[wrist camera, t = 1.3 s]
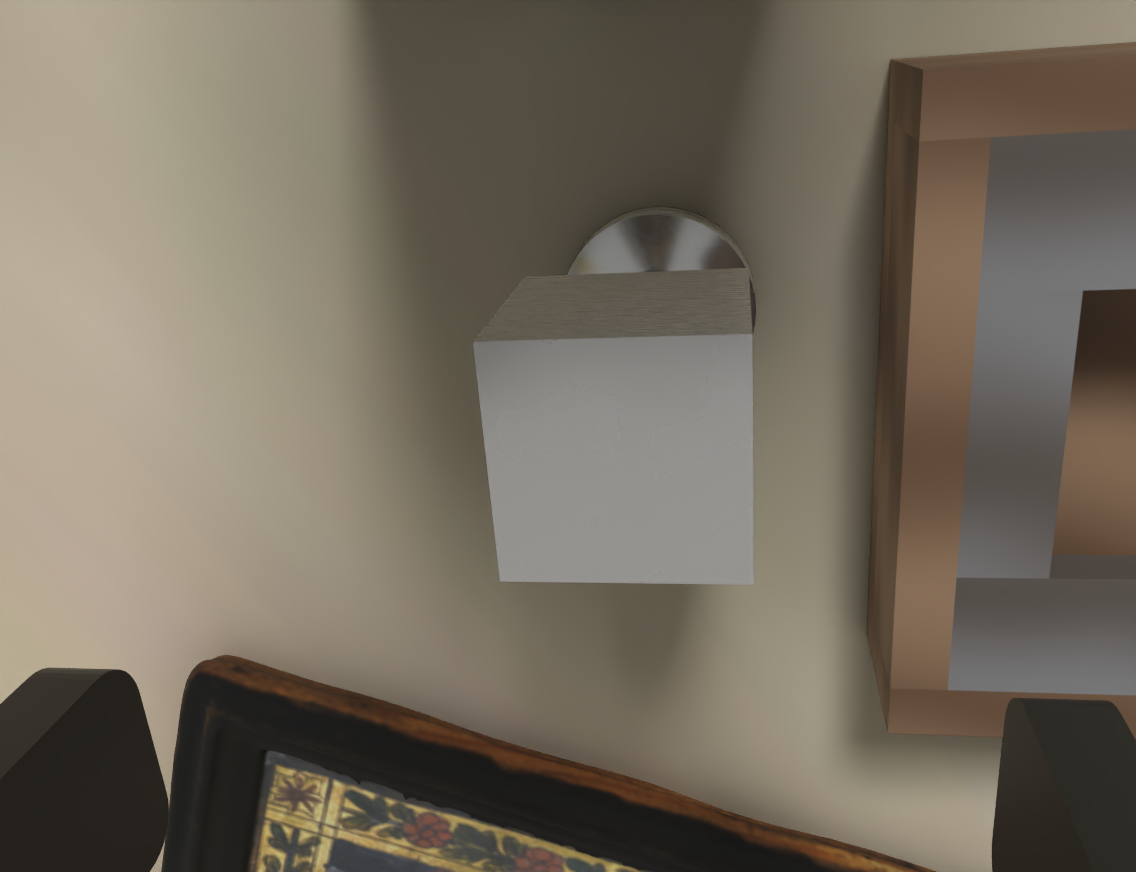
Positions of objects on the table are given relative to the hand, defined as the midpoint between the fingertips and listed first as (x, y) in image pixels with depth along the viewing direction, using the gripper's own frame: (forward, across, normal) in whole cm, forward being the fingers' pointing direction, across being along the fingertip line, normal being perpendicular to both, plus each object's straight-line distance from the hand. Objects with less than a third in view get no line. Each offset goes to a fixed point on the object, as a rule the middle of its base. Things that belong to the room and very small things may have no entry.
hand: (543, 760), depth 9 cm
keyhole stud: (+16, 0, 0) cm, 16 cm away
